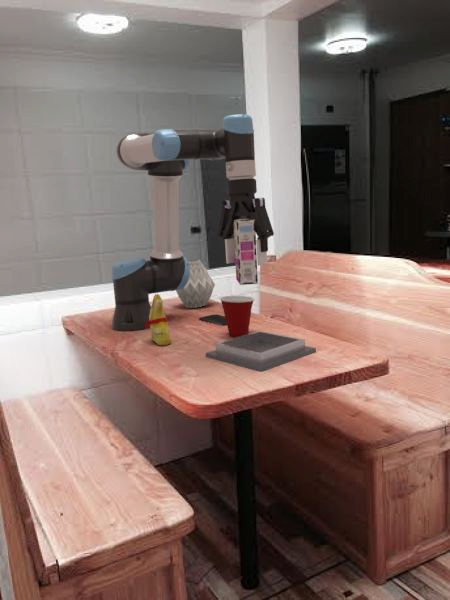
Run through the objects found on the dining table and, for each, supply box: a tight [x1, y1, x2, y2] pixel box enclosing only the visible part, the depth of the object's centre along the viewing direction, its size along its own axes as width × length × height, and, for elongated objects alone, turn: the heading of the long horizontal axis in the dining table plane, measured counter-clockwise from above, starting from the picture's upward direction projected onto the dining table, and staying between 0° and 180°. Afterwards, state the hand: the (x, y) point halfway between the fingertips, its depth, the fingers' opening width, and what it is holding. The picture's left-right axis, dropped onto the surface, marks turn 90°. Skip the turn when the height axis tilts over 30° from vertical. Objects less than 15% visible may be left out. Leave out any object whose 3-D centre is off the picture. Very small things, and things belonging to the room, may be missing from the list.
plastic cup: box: [219, 295, 256, 338], centre depth 165 cm, size 11×11×12 cm
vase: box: [175, 259, 216, 309], centre depth 214 cm, size 16×16×18 cm
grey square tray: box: [205, 330, 317, 372], centre depth 144 cm, size 21×21×4 cm
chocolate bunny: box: [145, 293, 172, 346], centre depth 162 cm, size 7×11×15 cm, turn 25°
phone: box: [198, 313, 227, 327], centre depth 187 cm, size 8×1×15 cm
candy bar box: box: [233, 218, 259, 286], centre depth 139 cm, size 11×5×16 cm, turn 4°
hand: (246, 263), depth 140 cm, fingers closed on candy bar box, 11 cm apart
